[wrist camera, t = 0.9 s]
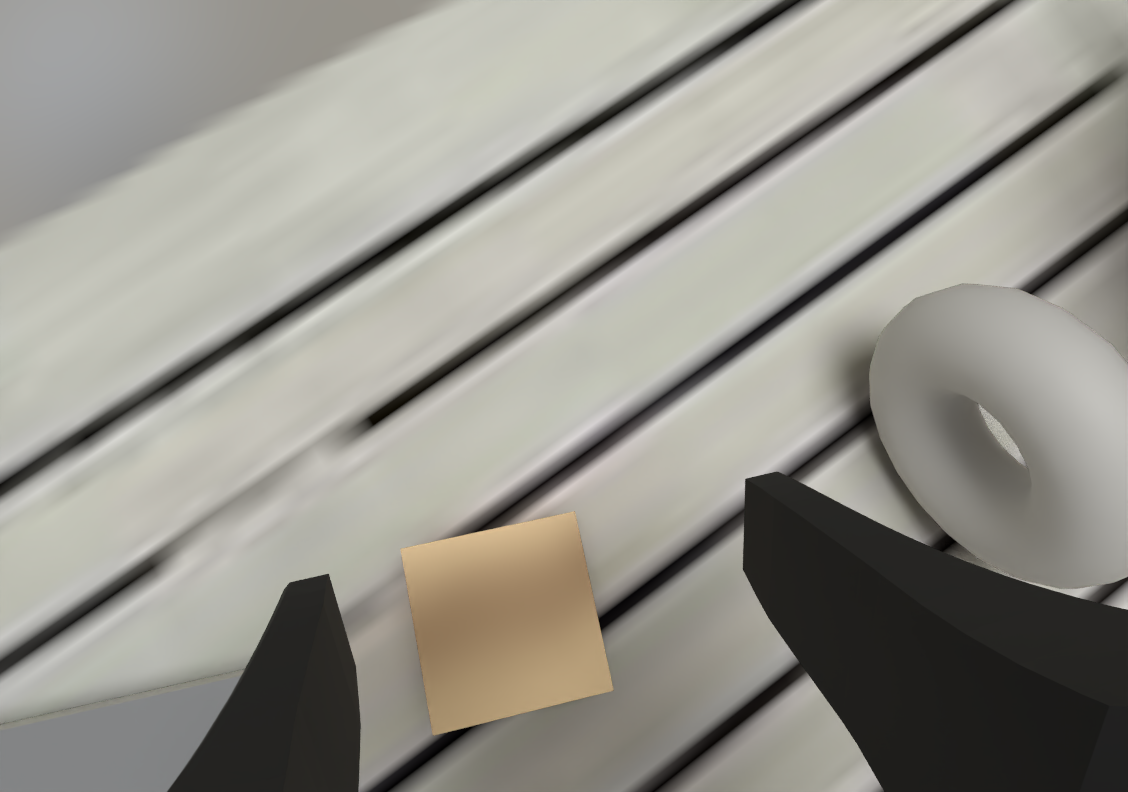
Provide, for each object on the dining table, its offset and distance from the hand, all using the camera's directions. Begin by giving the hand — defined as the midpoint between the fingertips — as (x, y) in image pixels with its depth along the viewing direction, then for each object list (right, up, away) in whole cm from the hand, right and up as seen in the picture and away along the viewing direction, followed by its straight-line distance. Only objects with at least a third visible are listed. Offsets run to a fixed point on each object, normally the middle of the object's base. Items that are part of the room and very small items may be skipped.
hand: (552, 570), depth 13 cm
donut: (+13, +1, +16) cm, 21 cm away
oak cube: (-2, -4, +13) cm, 14 cm away
